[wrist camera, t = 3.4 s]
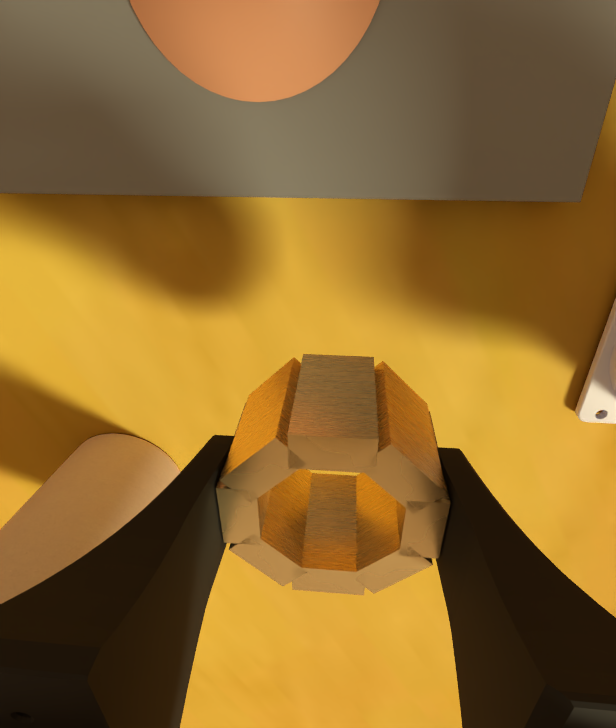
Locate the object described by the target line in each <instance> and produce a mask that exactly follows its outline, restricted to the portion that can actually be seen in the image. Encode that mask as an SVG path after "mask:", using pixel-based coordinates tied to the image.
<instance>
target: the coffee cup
mask: <svg viewBox="0 0 616 728" xmlns="http://www.w3.org/2000/svg"><path fill="white" fill-rule="evenodd" d="M179 473H180V471H179V469H178V467H177V465H176V464H175V463H174V461H173V460H172V459H171V458H170V457H169V456H168V455H167V454H166V453H165V452H163V451H162V450H161V449H159V448H158V447H156V446H155V445H153V444H151V443H149V442H147V441H145V440H143V439H140V438H137V437H134V436H130V435H125V434H116V433H110V434H101V435H97V436H94V437H92V438H89V439H88V440H86V441H85V442H83V443H82V444H81V445H80V446H79V447H78V448H77V449H76V450H75V451H74V452H73V453H72V454H71V455H70V457H69V458H68V459H67V460H66V461H65V462H64V463H63V464H62V465H61V466H60V467H59V468H58V469H57V470H56V471H55V472H54V473H53V474H52V476H51V477H50V478H49V479H48V480H47V481H46V482H45V483H44V484H43V485H42V486H41V487H40V488H39V489H38V490H37V491H36V492H35V493H34V495H33V496H32V497H31V498H30V499H29V500H28V501H27V502H26V503H25V504H24V505H23V506H22V507H21V508H20V509H19V510H18V511H17V512H16V514H15V515H14V516H13V517H12V518H11V519H10V520H9V521H8V522H7V523H6V524H5V525H4V526H3V527H2V528H1V529H0V604H2V603H4V602H5V601H7V600H9V599H11V598H13V597H15V596H17V595H19V594H21V593H22V592H24V591H26V590H28V589H30V588H32V587H34V586H35V585H37V584H39V583H41V582H42V581H44V580H46V579H47V578H49V577H51V576H52V575H54V574H56V573H57V572H59V571H61V570H62V569H64V568H65V567H67V566H68V565H70V564H72V563H73V562H75V561H76V560H78V559H79V558H81V557H82V556H84V555H85V554H87V553H88V552H89V551H91V550H92V549H94V548H95V547H96V546H98V545H99V544H101V543H102V542H103V541H105V540H106V539H107V538H109V537H110V536H111V535H113V534H114V533H115V532H117V531H118V530H119V529H120V528H122V527H123V526H124V525H125V524H127V523H128V522H129V521H130V520H131V519H132V518H134V517H135V516H136V515H137V514H138V513H139V512H141V511H142V510H143V509H144V508H145V507H146V506H147V505H148V504H149V503H150V502H151V501H152V500H153V499H155V498H156V497H157V496H158V495H159V494H160V493H161V492H162V491H163V490H164V489H165V488H166V487H167V486H168V485H169V484H170V483H171V482H172V481H173V480H174V479H175V478H176V477H177V476H178V475H179Z"/></svg>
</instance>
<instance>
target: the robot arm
mask: <svg viewBox="0 0 616 728" xmlns="http://www.w3.org/2000/svg"><path fill="white" fill-rule="evenodd" d="M600 410H603V411H602V412H601V413H599V414H596V413H597V412H598V411H600ZM575 413H576V415H577V416H578V418H579V419H580V420H581V421H584V422H595V423H614V424H616V299H615V301H614V304H613V307H612V310H611V312H610V315H609V318H608V321H607V324H606V326H605V329H604V332H603V335H602V337H601V340H600V343H599V346H598V348H597V351H596V354H595V357H594V360H593V362H592V365H591V368H590V371H589V373H588V376H587V379H586V382H585V384H584V387H583V390H582V393H581V396H580V398H579V401H578V404H577V407H576V410H575ZM234 437H235V436H223V435H214V436H213V437H212V438H211V439H210V440H209V441H208V442H207V443H206V445H205V446H204V447H203V448H202V449H201V450H200V451H199V453H198V454H197V455H196V456H195V457H194V458H193V459H192V460H191V462H190V463H189V464H188V465H187V466H186V467H185V468H184V469H183V470H182V471H181V472H180V473H179V475H178V476H177V477H176V478H175V479H174V480H173V481H172V482H171V483H170V484H169V485H168V486H167V487H166V488H165V489H164V490H163V491H162V492H161V493H160V494H159V495H158V496H157V497H156V498H155V499H153V500H152V501H151V502H150V503H149V504H148V505H147V506H146V507H145V508H144V509H143V510H142V511H141V512H139V513H138V514H137V515H136V516H135V517H134V518H132V519H131V520H130V521H129V522H128V523H127V524H125V525H124V526H123V527H122V528H120V529H119V530H118V531H117V532H115V533H114V534H113V535H111V536H110V537H109V538H107V539H106V540H105V541H103V542H102V543H101V544H99V545H98V546H96V547H95V548H94V549H92V550H91V551H89V552H88V553H87V554H85V555H84V556H82V557H81V558H79V559H78V560H76V561H75V562H73V563H72V564H70V565H68V566H67V567H65V568H64V569H62V570H61V571H59V572H57V573H56V574H54V575H52V576H51V577H49V578H47V579H46V580H44V581H42V582H41V583H39V584H37V585H35V586H34V587H32V588H30V589H28V590H26V591H24V592H22V593H21V594H19V595H17V596H15V597H13V598H11V599H9V600H7V601H5V602H4V603H2V604H0V728H180V723H181V718H182V713H183V708H184V703H185V698H186V693H187V688H188V683H189V679H190V674H191V670H192V665H193V661H194V656H195V651H196V647H197V642H198V638H199V634H200V630H201V625H202V621H203V617H204V612H205V608H206V605H207V601H208V598H209V595H210V591H211V588H212V585H213V582H214V580H215V577H216V574H217V571H218V568H219V565H220V562H221V559H222V556H223V553H224V550H225V547H226V544H227V543H224V540H223V533H222V526H221V520H220V513H219V506H218V499H217V492H216V487H217V484H218V481H219V478H220V475H221V472H222V470H223V468H224V466H225V463H226V460H227V457H228V454H229V451H230V448H231V446H232V443H233V440H234ZM437 450H438V455H439V459H440V464H441V468H442V473H443V477H444V480H445V483H446V485H447V490H448V494H449V499H450V503H451V504H450V508H449V513H448V518H447V522H446V527H445V531H444V536H443V541H442V545H441V550H440V554H439V559H438V558H436V561H437V566H438V570H439V575H440V579H441V584H442V588H443V593H444V597H445V601H446V606H447V610H448V615H449V621H450V626H451V632H452V640H453V648H454V656H455V664H456V672H457V681H458V690H459V699H460V707H461V717H462V727H463V728H616V618H615V617H614V616H613V615H611V614H610V613H609V612H608V611H607V610H605V609H604V608H603V607H602V606H600V605H599V604H598V603H597V602H596V601H594V600H593V599H592V598H591V597H590V596H589V595H587V594H586V593H585V592H584V591H583V590H582V589H580V588H579V587H578V586H577V585H576V584H575V583H574V582H572V581H571V580H570V579H569V578H568V577H567V576H566V575H565V574H564V573H562V572H561V571H560V570H559V569H558V568H557V567H556V566H555V565H554V564H553V563H552V562H551V561H550V560H549V559H548V558H547V557H546V556H545V555H544V554H543V553H542V552H541V551H540V550H539V549H538V548H537V547H536V546H535V545H534V543H533V542H532V541H531V540H530V539H529V538H528V537H527V536H526V535H525V534H524V532H523V531H522V530H521V529H520V528H519V527H518V526H517V524H516V523H515V522H514V521H513V520H512V518H511V517H510V516H509V515H508V514H507V512H506V511H505V510H504V509H503V507H502V506H501V505H500V504H499V502H498V501H497V500H496V499H495V497H494V496H493V495H492V493H491V492H490V491H489V489H488V488H487V487H486V485H485V484H484V483H483V481H482V480H481V478H480V477H479V476H478V474H477V473H476V471H475V470H474V469H473V467H472V466H471V464H470V463H469V461H468V460H467V458H466V457H465V455H464V454H463V452H462V451H461V450H460V449H456V448H438V447H437Z"/></svg>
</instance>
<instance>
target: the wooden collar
mask: <svg viewBox="0 0 616 728" xmlns="http://www.w3.org/2000/svg"><path fill="white" fill-rule="evenodd" d="M234 436H235V437H234V440H233V443H232V446H231V448H230V451H229V454H228V457H227V460H226V463H225V466H224V468H223V470H222V472H221V475H220V478H219V481H218V484H217V487H216V492H217V499H218V506H219V513H220V520H221V526H222V533H223V540H224V543H231V544H230V548H229V550H230V551H232V552H233V553H235V554H236V555H238V556H239V557H241V558H242V559H243V560H245V561H246V562H248V563H249V564H251V565H252V566H254V567H255V568H257V569H258V570H260V571H261V572H263V573H264V574H266V575H267V576H268V577H270V578H271V579H273V580H274V581H276V582H277V583H279V584H280V585H282V586H284V585H286V584H288V583H290V582H291V581H292V587H293V590H305V591H317V592H330V593H342V594H354V595H364V588H365V587H366V588H367V589H368V590H370V591H371V592H372V593H376V592H378V591H380V590H382V589H384V588H386V587H388V586H391V585H393V584H395V583H397V582H399V581H401V580H403V579H405V578H407V577H409V576H411V575H413V574H415V573H417V572H419V571H421V570H423V569H425V568H427V567H429V566H432V565H433V564H432V558H438V559H439V554H440V550H441V545H442V541H443V536H444V531H445V527H446V522H447V518H448V513H449V508H450V504H451V503H450V499H449V494H448V490H447V485H446V483H445V480H444V477H443V473H442V468H441V464H440V459H439V455H438V450H437V447H438V446H437V441H436V437H435V432H434V428H433V424H432V419H431V415H430V411H429V410H428V406H427V403H426V402H425V401H424V400H423V399H422V398H421V397H419V396H418V395H417V394H416V393H415V392H414V391H413V390H412V389H411V388H410V387H409V386H408V385H407V384H406V383H405V382H404V381H403V380H402V379H401V378H400V377H399V376H398V375H397V374H396V373H395V372H394V371H393V370H392V369H391V368H390V367H389V366H388V365H387V364H386V363H385V362H384V361H382V362H381V363H379V364H378V365H377V366H376V367H374V357H360V356H336V355H311V354H303V358H302V363H300V362H299V361H298V360H297V359H295V358H292V359H291V360H290V361H289V362H288V363H287V364H285V365H284V366H283V367H282V368H281V369H279V370H278V371H277V372H276V373H275V374H274V375H272V376H271V377H270V378H269V379H268V380H266V381H265V382H264V383H263V384H262V385H261V386H259V387H258V388H257V389H256V390H255V391H253V392H252V393H251V394H250V395H249V397H248V400H247V402H246V404H245V407H244V409H243V412H242V415H241V418H240V421H239V424H238V427H237V429H236V432H235V435H234ZM307 469H310V470H327V471H343V472H360V474H359V475H357V476H350V475H333V474H317V473H311V472H310V471H309V470H307Z"/></svg>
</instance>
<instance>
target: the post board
mask: <svg viewBox="0 0 616 728" xmlns="http://www.w3.org/2000/svg"><path fill="white" fill-rule="evenodd" d="M615 80H616V0H0V193H33V194H95V195H158V196H221V197H283V198H346V199H409V200H472V201H534V202H581V198H582V195H583V191H584V188H585V184H586V181H587V177H588V174H589V170H590V167H591V163H592V160H593V156H594V153H595V149H596V146H597V142H598V139H599V135H600V132H601V128H602V125H603V121H604V118H605V115H606V111H607V108H608V104H609V101H610V97H611V94H612V90H613V87H614V83H615Z"/></svg>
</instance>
